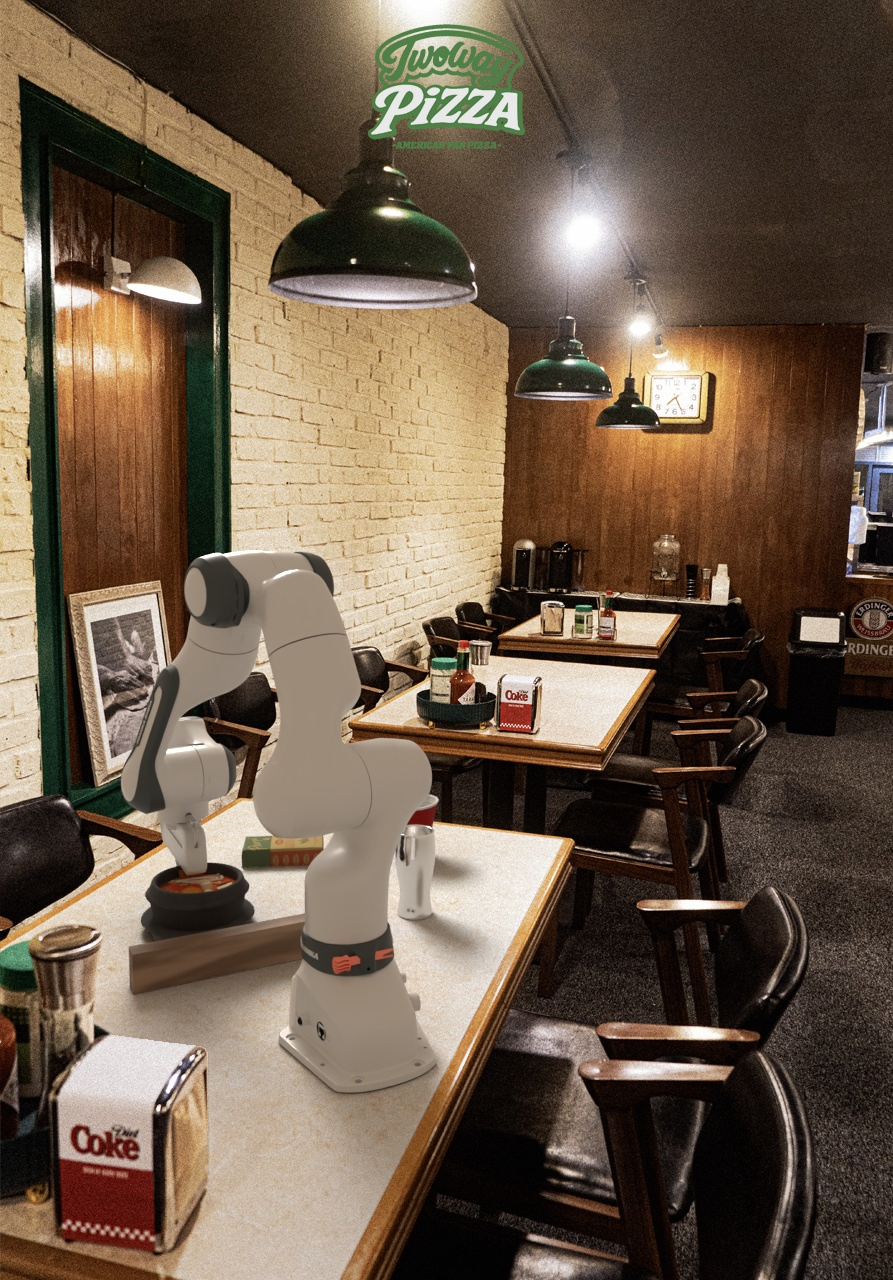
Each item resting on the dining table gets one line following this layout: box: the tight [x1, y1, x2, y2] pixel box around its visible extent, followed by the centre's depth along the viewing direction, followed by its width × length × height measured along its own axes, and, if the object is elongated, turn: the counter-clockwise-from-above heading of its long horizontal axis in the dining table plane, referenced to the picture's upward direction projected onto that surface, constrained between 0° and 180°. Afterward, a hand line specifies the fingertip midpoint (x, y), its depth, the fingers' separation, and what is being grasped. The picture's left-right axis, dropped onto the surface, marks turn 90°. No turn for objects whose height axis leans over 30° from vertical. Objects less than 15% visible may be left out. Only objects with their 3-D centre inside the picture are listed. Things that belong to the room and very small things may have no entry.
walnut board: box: [128, 912, 305, 995], centre depth 145 cm, size 3×28×6 cm, turn 118°
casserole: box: [140, 861, 256, 942], centre depth 161 cm, size 25×19×8 cm
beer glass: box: [394, 825, 436, 921], centre depth 167 cm, size 7×7×15 cm
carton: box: [241, 835, 325, 868], centre depth 193 cm, size 8×16×4 cm, turn 97°
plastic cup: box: [407, 794, 440, 828], centre depth 195 cm, size 11×11×12 cm
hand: (184, 882), depth 170 cm, fingers closed
